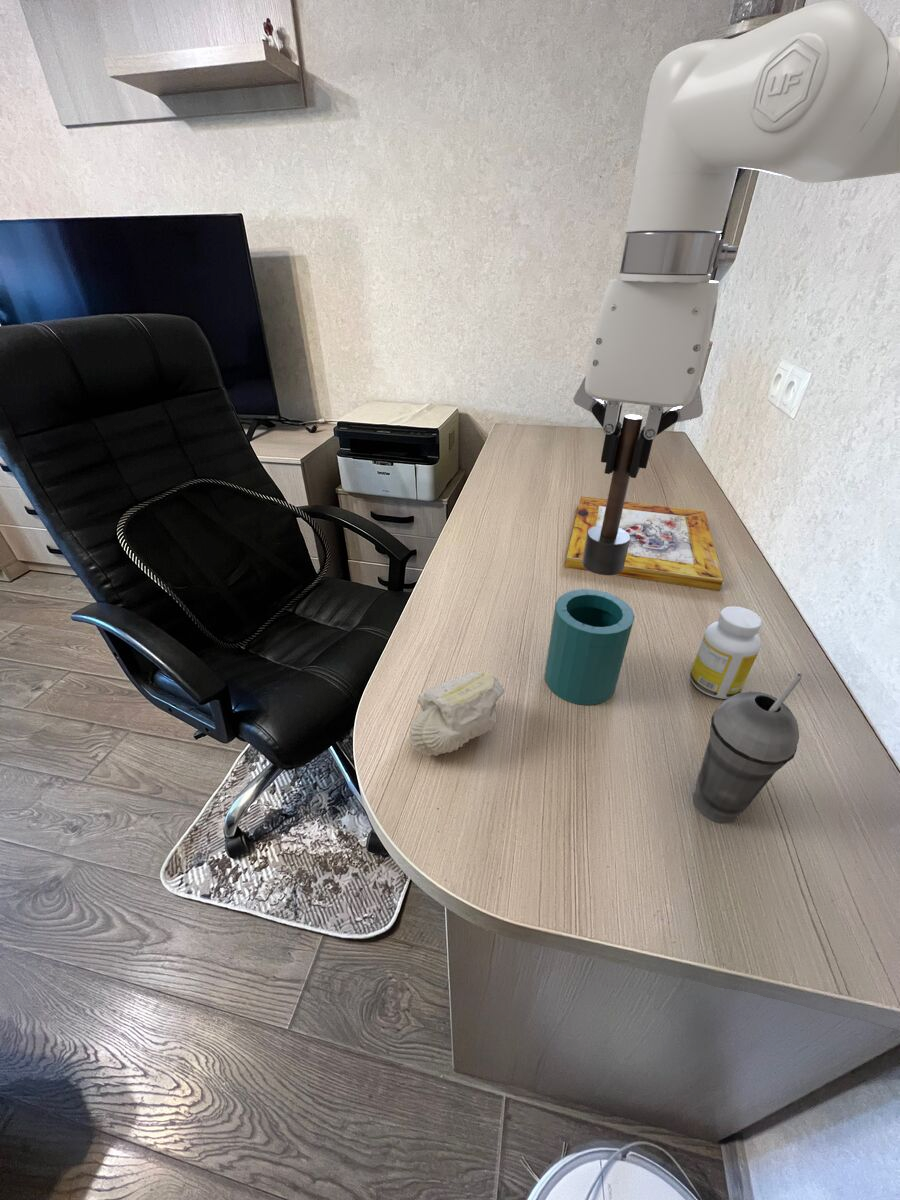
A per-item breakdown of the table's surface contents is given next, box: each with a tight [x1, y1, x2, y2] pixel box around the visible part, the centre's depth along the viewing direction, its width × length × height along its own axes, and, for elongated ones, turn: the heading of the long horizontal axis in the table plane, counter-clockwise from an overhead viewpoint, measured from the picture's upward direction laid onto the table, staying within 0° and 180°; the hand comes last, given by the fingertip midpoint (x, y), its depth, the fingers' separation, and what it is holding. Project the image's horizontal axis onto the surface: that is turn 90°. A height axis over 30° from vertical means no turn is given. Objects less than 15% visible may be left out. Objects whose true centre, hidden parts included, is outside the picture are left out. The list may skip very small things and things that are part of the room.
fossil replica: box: [409, 671, 505, 757], centre depth 59 cm, size 12×8×10 cm
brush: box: [582, 414, 644, 576], centre depth 54 cm, size 5×5×17 cm
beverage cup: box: [692, 672, 804, 825], centre depth 48 cm, size 7×7×20 cm
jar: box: [544, 588, 635, 706], centre depth 66 cm, size 10×10×12 cm
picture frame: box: [564, 496, 724, 592], centre depth 103 cm, size 27×2×30 cm
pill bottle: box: [689, 605, 763, 700], centre depth 66 cm, size 6×6×12 cm
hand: (622, 470), depth 53 cm, fingers closed on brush
